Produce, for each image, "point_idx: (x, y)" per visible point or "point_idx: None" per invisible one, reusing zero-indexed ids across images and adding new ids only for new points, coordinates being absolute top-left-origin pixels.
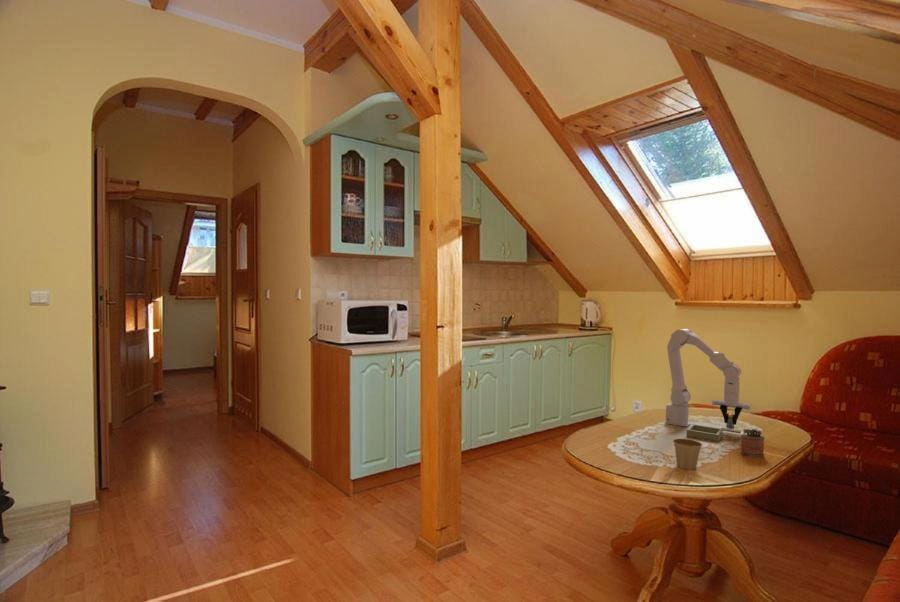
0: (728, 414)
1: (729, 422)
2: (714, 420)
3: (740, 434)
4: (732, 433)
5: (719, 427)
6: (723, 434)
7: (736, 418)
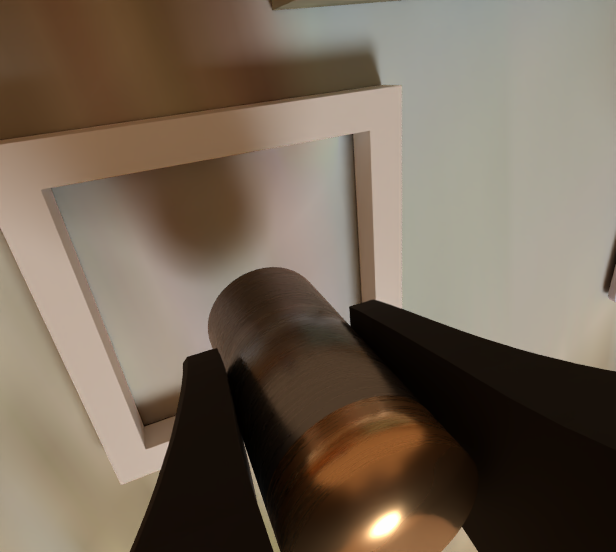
0: (438, 450)
1: (304, 318)
2: (452, 549)
3: (33, 212)
4: (166, 164)
5: None
6: (282, 100)
7: (178, 456)
